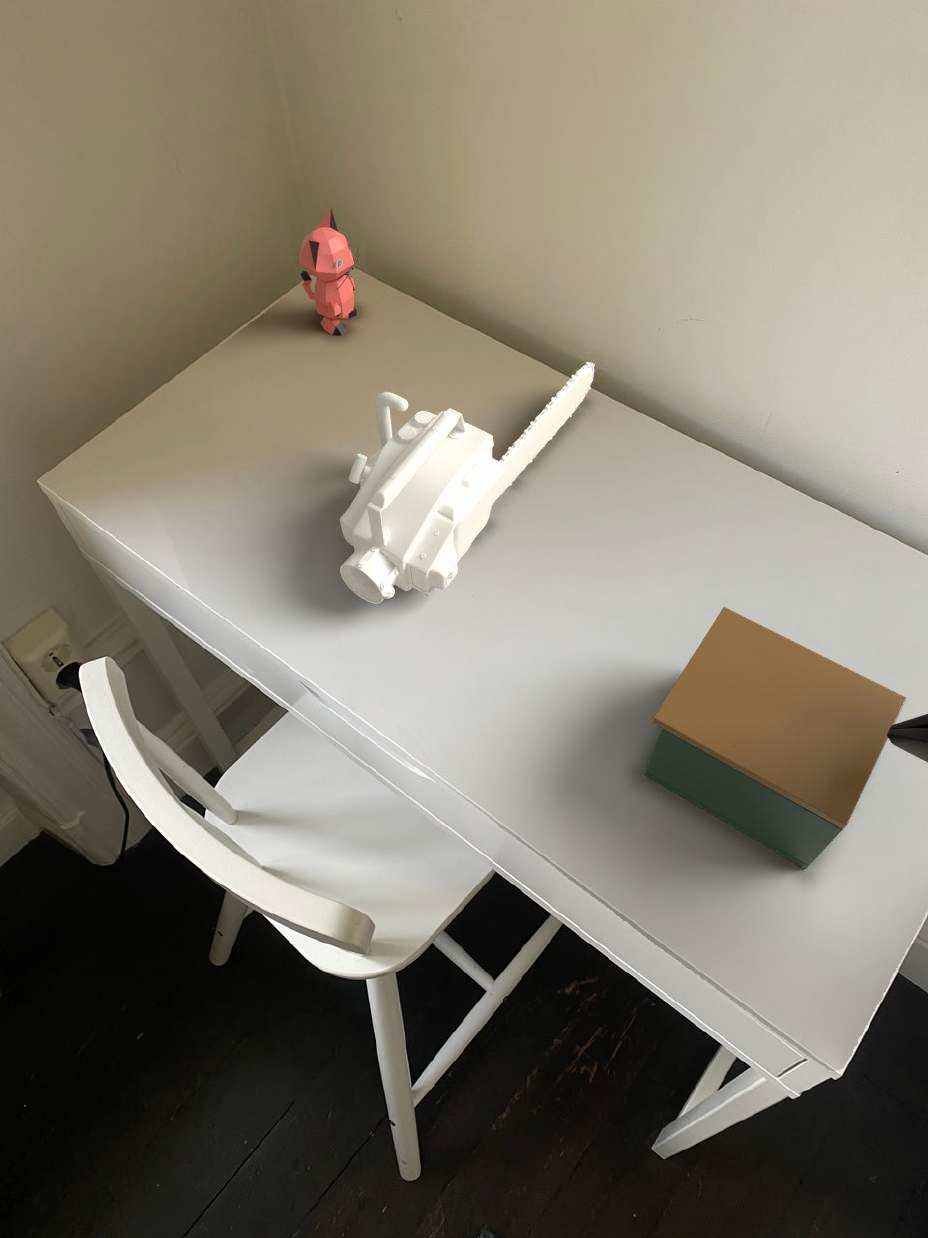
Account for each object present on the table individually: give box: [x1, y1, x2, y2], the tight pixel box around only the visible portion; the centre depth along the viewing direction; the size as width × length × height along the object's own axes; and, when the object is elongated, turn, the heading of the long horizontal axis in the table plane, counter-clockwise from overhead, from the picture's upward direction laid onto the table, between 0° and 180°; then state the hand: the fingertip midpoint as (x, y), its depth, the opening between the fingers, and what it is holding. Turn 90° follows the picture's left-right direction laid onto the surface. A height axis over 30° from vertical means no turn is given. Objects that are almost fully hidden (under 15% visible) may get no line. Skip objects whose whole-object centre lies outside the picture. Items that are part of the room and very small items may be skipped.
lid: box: [651, 606, 907, 830], centre depth 66 cm, size 14×12×1 cm
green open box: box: [644, 728, 844, 870], centre depth 70 cm, size 14×12×8 cm
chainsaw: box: [339, 361, 596, 605], centre depth 85 cm, size 15×35×12 cm, turn 146°
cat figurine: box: [298, 207, 360, 336], centre depth 99 cm, size 7×7×12 cm
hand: (890, 735), depth 61 cm, fingers closed
